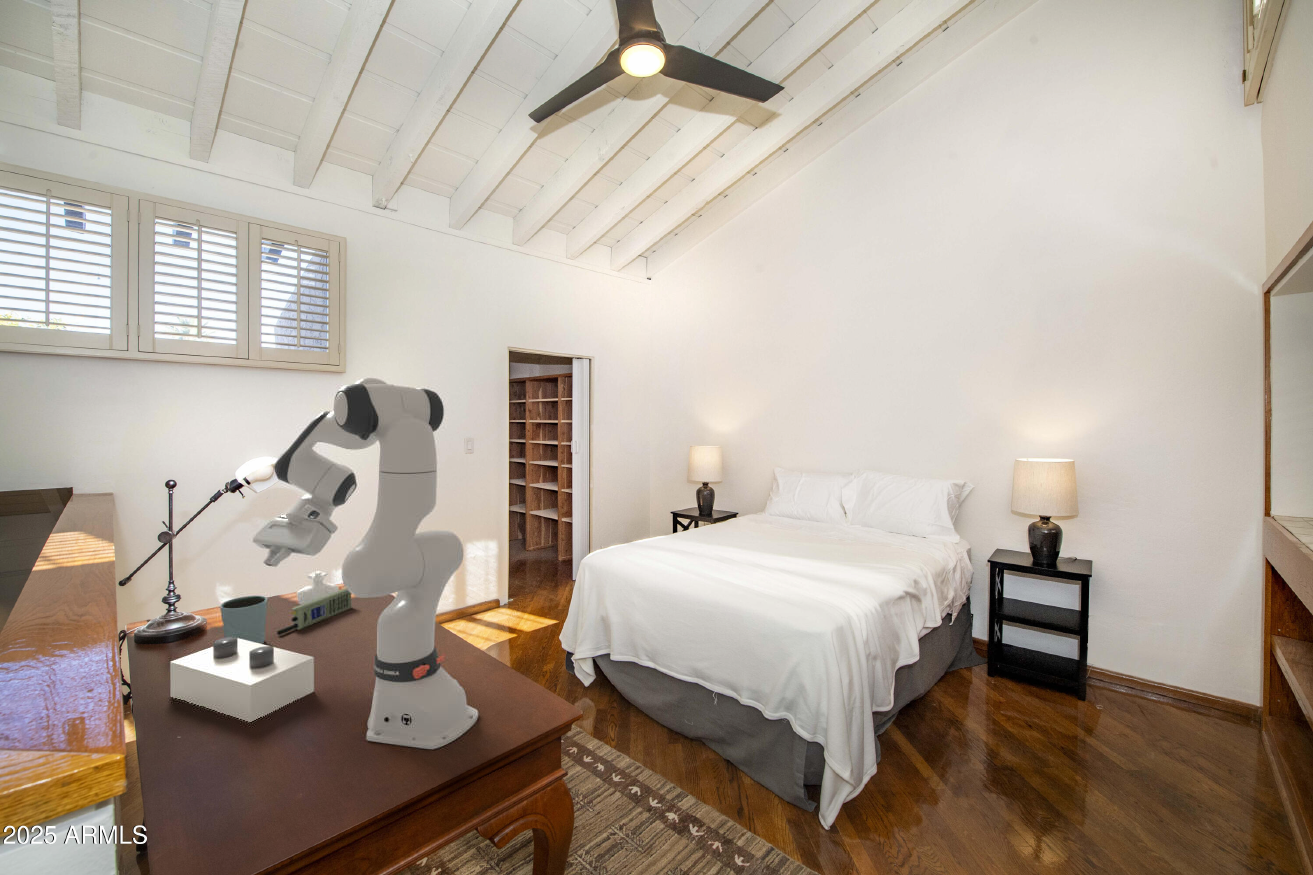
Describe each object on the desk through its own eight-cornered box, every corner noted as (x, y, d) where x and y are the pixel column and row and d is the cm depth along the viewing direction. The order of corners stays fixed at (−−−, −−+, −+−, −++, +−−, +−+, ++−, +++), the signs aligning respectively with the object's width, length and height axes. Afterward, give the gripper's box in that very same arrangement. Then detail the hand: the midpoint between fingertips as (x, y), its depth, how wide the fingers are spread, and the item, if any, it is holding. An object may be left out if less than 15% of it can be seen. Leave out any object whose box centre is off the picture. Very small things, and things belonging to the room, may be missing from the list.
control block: (313, 691, 126) (313, 657, 125) (250, 722, 113) (250, 684, 112) (237, 669, 135) (237, 637, 134) (170, 696, 122) (170, 661, 121)
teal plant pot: (276, 638, 153) (276, 596, 152) (245, 654, 143) (245, 609, 142) (243, 636, 154) (242, 594, 154) (210, 651, 144) (210, 606, 143)
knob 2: (278, 677, 123) (278, 648, 122) (258, 686, 119) (258, 656, 118) (264, 674, 124) (264, 644, 124) (244, 682, 120) (244, 652, 120)
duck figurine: (338, 605, 186) (335, 574, 191) (341, 597, 181) (338, 565, 186) (296, 612, 178) (294, 580, 183) (298, 604, 173) (296, 570, 178)
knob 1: (242, 667, 127) (242, 639, 127) (221, 676, 123) (221, 646, 122) (229, 664, 128) (229, 635, 128) (208, 672, 124) (208, 643, 124)
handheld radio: (353, 608, 178) (283, 638, 154) (345, 607, 179) (274, 636, 155) (352, 588, 178) (282, 614, 154) (344, 587, 179) (273, 613, 155)
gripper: (269, 508, 144) (230, 553, 135) (327, 514, 137) (290, 562, 128) (286, 521, 148) (249, 566, 140) (343, 529, 142) (307, 576, 133)
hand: (269, 564), depth 134 cm, fingers closed
